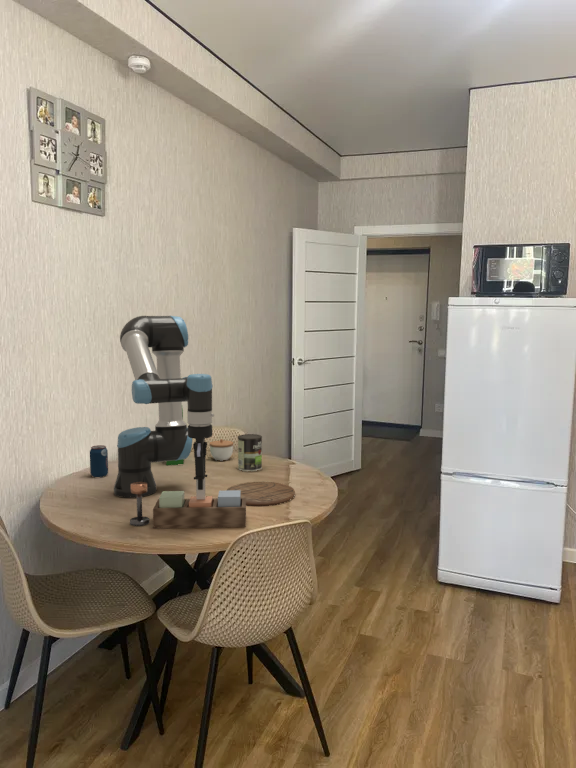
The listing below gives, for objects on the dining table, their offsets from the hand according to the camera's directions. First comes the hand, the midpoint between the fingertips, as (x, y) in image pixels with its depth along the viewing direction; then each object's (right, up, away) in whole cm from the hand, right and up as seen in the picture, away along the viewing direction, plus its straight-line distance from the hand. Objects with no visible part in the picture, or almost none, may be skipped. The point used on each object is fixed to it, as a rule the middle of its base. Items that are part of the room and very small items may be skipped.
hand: (200, 498), depth 179 cm
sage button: (-9, -2, 0) cm, 9 cm away
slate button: (+9, -2, +1) cm, 9 cm away
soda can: (-49, -2, +54) cm, 73 cm away
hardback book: (-24, +1, +80) cm, 84 cm away
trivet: (+17, -5, +29) cm, 34 cm away
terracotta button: (0, -4, 0) cm, 4 cm away
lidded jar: (-3, +1, +82) cm, 82 cm away
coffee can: (+11, -1, +66) cm, 67 cm away
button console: (0, -7, +1) cm, 8 cm away
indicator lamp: (-19, -7, 0) cm, 20 cm away
